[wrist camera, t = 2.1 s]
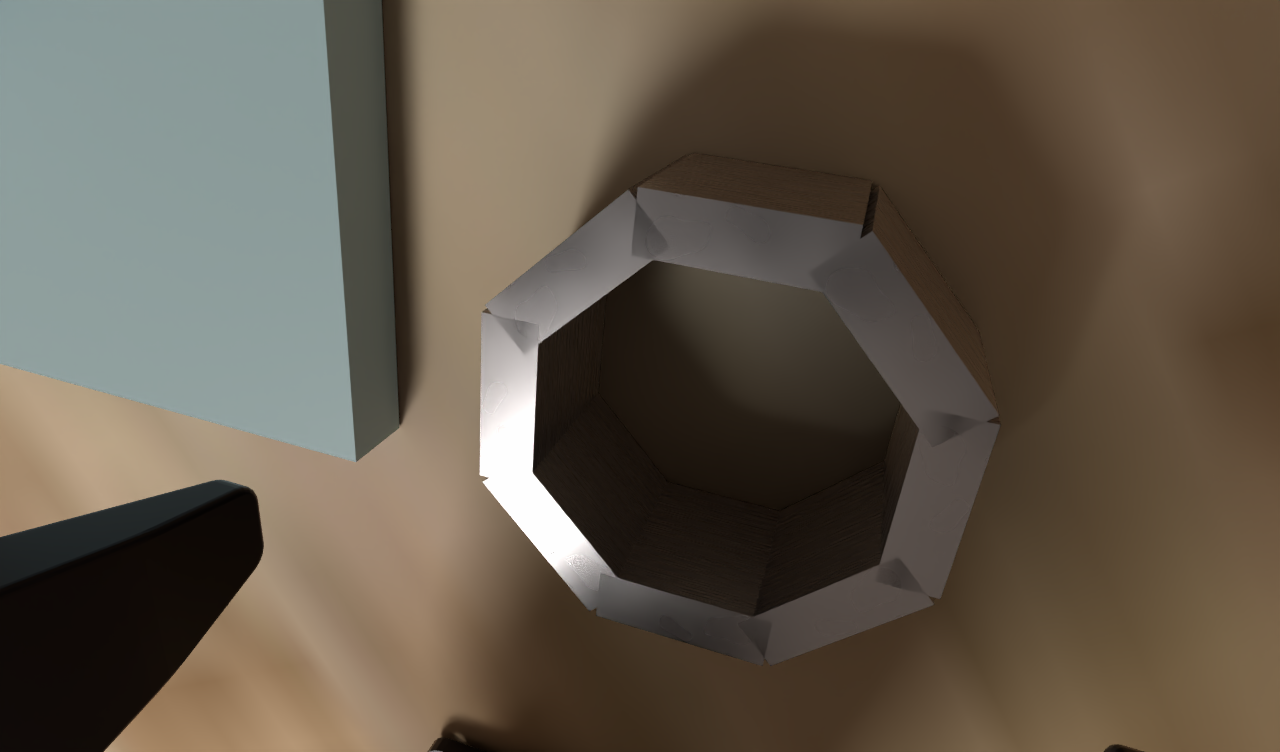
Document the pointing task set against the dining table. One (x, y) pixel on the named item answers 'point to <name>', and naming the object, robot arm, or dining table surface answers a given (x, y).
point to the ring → (712, 524)
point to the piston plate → (203, 210)
